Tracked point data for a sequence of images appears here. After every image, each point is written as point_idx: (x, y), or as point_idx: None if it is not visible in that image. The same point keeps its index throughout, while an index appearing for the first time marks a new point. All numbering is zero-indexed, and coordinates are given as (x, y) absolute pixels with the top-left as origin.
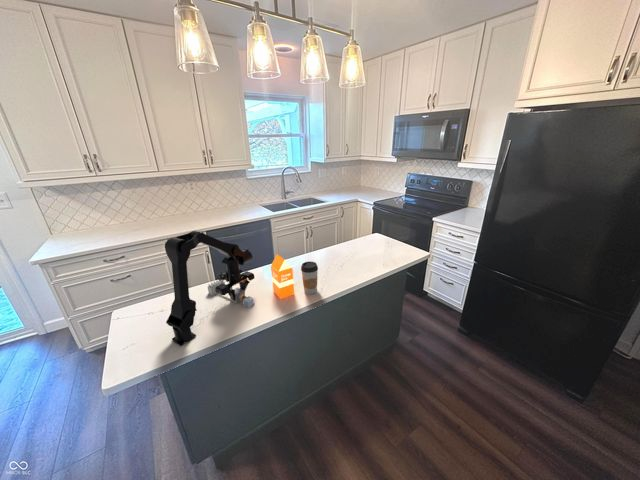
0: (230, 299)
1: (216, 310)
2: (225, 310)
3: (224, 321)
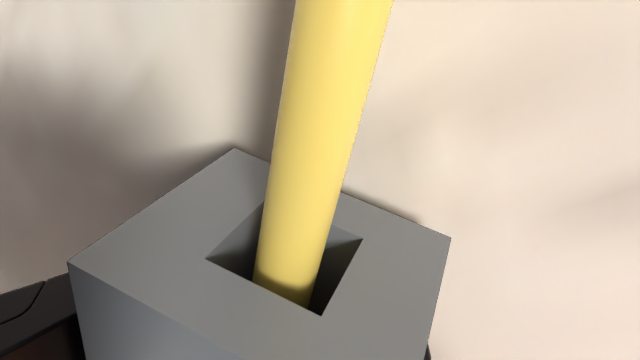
0: (231, 150)
1: (11, 55)
2: (82, 180)
3: (10, 253)
